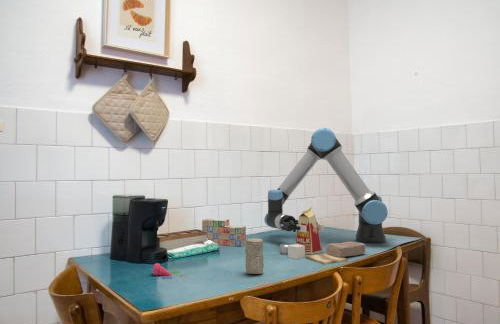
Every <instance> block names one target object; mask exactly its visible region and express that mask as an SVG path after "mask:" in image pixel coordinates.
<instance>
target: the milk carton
mask: <svg viewBox="0 0 500 324" xmlns="http://www.w3.org/2000/svg"><path fill="white" fill-rule="evenodd" d="M297 220H298V225H303V226H306V233H304V232H300V231H296V232H295V235H296V236H295V244H298V245H303V246H305V255H316V254H321V253H323V250H322V243H321V237H320V232H319V231H320V230H318V226H317V223H318V222H317V217H316V214H315V212H314V211H313V210H312V206H309V207H308V208H307V209H305V210H303V211H302V213H301V214H299V216H298V219H297Z"/></svg>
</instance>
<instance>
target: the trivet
mask: <svg viewBox="0 0 500 324" xmlns="http://www.w3.org/2000/svg"><path fill="white" fill-rule="evenodd" d="M304 259H307V260H310V261H313V262H317V263H319V264H322V265H329V264H335V263H340V262H341V263H343V262H348V260H349V259H348V258H346V257H337V256H332V255H328V254H327V253H326V252H325V253H317V254H310V255H305V258H304Z"/></svg>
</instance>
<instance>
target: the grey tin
mask: <svg viewBox="0 0 500 324" xmlns="http://www.w3.org/2000/svg"><path fill="white" fill-rule="evenodd" d="M288 245H292V244H291V243H280V244H279V254H280V255H282V256H288Z"/></svg>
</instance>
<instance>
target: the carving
mask: <svg viewBox="0 0 500 324" xmlns="http://www.w3.org/2000/svg"><path fill="white" fill-rule="evenodd" d="M244 247H245V248H244V252H245V271H246V273H247V274H249V275H259V274H263V273H264V267H265V266H264V254H263V252H264V240H263V238H257V237H256V238H246V245H244Z"/></svg>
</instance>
